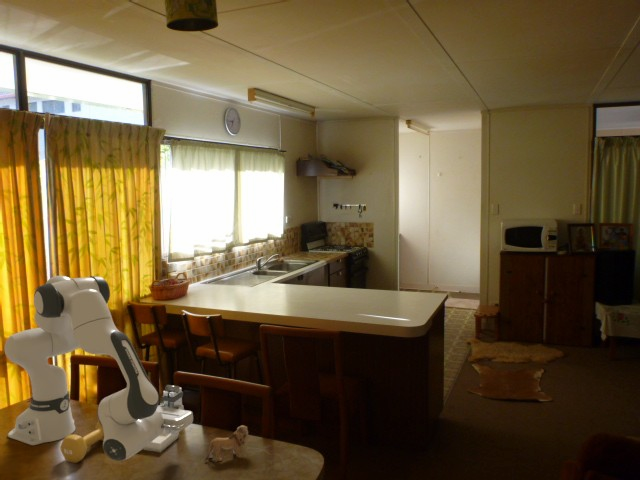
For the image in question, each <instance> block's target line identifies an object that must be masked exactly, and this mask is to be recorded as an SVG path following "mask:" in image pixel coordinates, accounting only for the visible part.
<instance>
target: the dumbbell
mask: <svg viewBox="0 0 640 480" xmlns="http://www.w3.org/2000/svg"><path fill="white" fill-rule="evenodd" d="M98 441H102V442H103V441H104V431H103V428H102V426H101V424H100V422H99V420H97V422H96V424H95V429H94V430H93V431H91V432H89V433H87V434H86V435H84V436H83V437H82V436H81V435H78V434H73V433H72V434H70V435H68V436H66V437H64V438H63V440H62V441H61V444H60V451H61V453H62V456H63V458H64V460H65V461H67V462H69V463H73V464H75V463H79V462H80V461H82V460H83V459H84V458H85V456H86V454H87V452H88V447H90V446H91V445H93V444H95V443H96V442H98Z"/></svg>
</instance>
